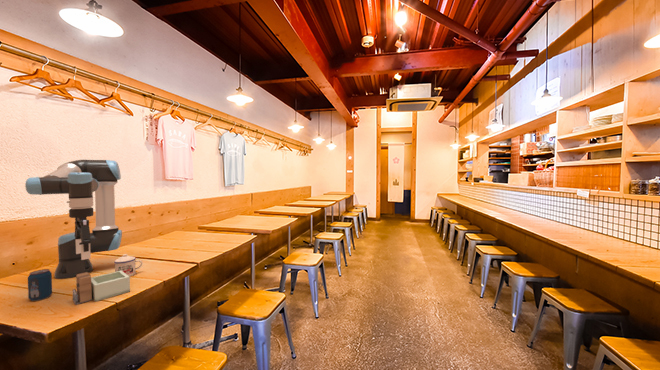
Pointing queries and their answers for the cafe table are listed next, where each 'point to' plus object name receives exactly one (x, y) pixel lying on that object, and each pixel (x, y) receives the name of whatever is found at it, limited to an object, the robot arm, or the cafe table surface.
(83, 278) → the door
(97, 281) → the pale green open box
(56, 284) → the cafe table surface
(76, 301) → the hinge rail
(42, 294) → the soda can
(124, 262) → the teacup with lid
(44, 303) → the cafe table surface
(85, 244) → the robot arm
